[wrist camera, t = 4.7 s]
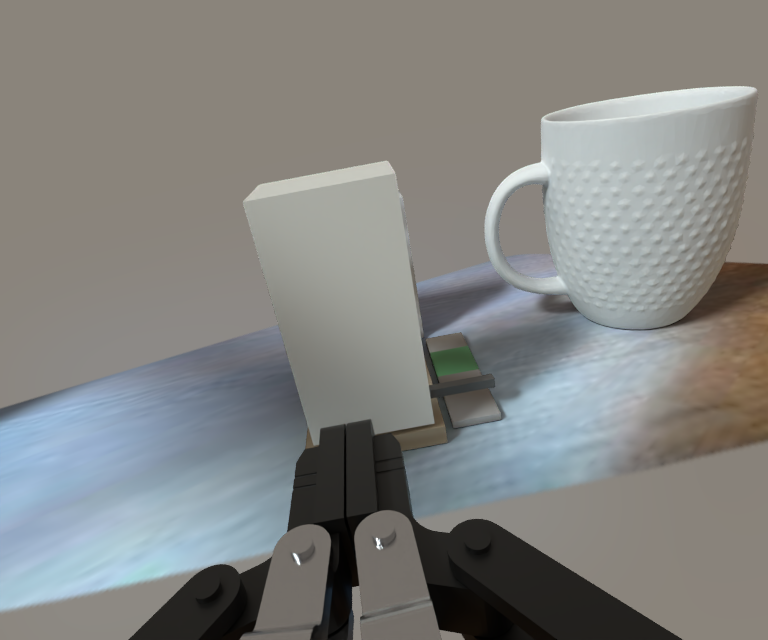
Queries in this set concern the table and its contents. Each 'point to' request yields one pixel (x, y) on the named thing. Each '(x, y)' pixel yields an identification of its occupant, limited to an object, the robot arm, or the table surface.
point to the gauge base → (449, 365)
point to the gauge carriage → (346, 298)
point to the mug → (637, 201)
